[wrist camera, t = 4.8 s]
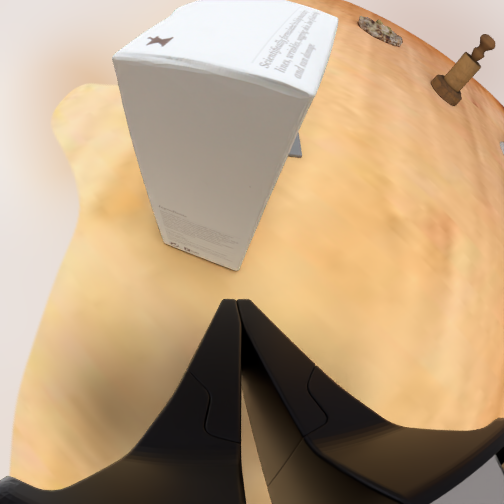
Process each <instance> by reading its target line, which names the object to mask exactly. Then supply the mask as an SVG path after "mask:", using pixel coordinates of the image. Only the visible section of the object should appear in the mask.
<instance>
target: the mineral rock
mask: <svg viewBox="0 0 504 504" xmlns="http://www.w3.org/2000/svg"><path fill="white" fill-rule="evenodd" d="M358 23H359V24H360V28H361V29H363V30H364V31H366V32H367V33H369V34H370V35H371V36H373V37H376V38H378V39H380V40H382V41H385V42H387V43H389V44H391V45H393V46H400V45H401V44H402V43H403V41H402V38H401V37H400V36H399V35H397V34H396V33H394V32H393V31H392V30H391V28H389V27H387V26H384V25H383V23H382V22H381V21H380V20H377V21H376V22H374V21H373V20H371V19H370V18H368V17H362V16H360V17H359V22H358Z"/></svg>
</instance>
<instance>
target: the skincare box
mask: <svg viewBox="0 0 504 504" xmlns="http://www.w3.org/2000/svg"><path fill="white" fill-rule="evenodd" d="M337 26H338V18H337V17H335V16H332V15H330V14H327V13H324V12H322V11H319V10H316V9H313V8H310V7H307V6H304V5H301V4H297V3H293V2H290V1H286V0H199V1H195V2H192V3H189V4H186V5H183V6H181V7H179V8H177V9H176V10H174V12H173V13H172V15H171V16H170V17H168V18H166V19H165V20H163V21H161V22H160V23H158V24H157V25H155V26H154V27H152V28H150V29H149V30H147V31H146V32H144V33H143V34H141V35H140V36H138V37H137V38H136V39H134V40H133V41H131V42H130V43H129V44H127V45H126V46H125V47H124V48H122V49H121V50H119V51H118V52H117V53H116V54H115V55H114V56H113V57H112V60H113V63H114V67H115V72H116V76H117V80H118V85H119V90H120V93H121V98H122V103H123V107H124V111H125V115H126V119H127V124H128V128H129V131H130V135H131V139H132V143H133V147H134V150H135V154H136V157H137V161H138V164H139V168H140V171H141V174H142V177H143V181H144V184H145V187H146V190H147V193H148V197H149V200H150V203H151V206H152V209H153V212H154V215H155V218H156V221H157V224H158V227H159V230H160V233H161V236H162V239H163V242H164V243H166V244H168V245H170V246H173V247H175V248H178V249H180V250H183V251H185V252H188V253H191V254H193V255H196V256H198V257H201V258H204V259H206V260H208V261H211V262H214V263H217V264H219V265H222V266H224V267H227V268H230V269H232V270H235V271H238V270H239V269H240V267H241V264H242V262H243V259H244V257H245V254H246V252H247V249H248V247H249V245H250V242H251V240H252V238H253V236H254V233H255V231H256V229H257V226H258V224H259V221H260V219H261V216H262V214H263V212H264V209H265V207H266V204H267V202H268V200H269V198H270V195H271V193H272V191H273V188H274V186H275V184H276V182H277V179H278V177H279V175H280V173H281V170H282V168H283V166H284V164H285V161H286V159H287V157H288V155H289V152H290V150H291V148H292V145H293V143H294V140H295V138H296V136H297V134H298V131H299V129H300V127H301V124H302V122H303V120H304V118H305V115H306V113H307V111H308V109H309V107H310V105H311V103H312V101H313V98H314V97H315V95H316V93H317V90H318V88H319V85H320V83H321V80H322V78H323V75H324V72H325V69H326V66H327V63H328V60H329V57H330V53H331V50H332V46H333V42H334V38H335V35H336V31H337Z"/></svg>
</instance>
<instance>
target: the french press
mask: <svg viewBox="0 0 504 504" xmlns="http://www.w3.org/2000/svg"><path fill="white" fill-rule="evenodd" d="M500 146H501V149H502V152H503V154H504V142H500Z"/></svg>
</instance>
